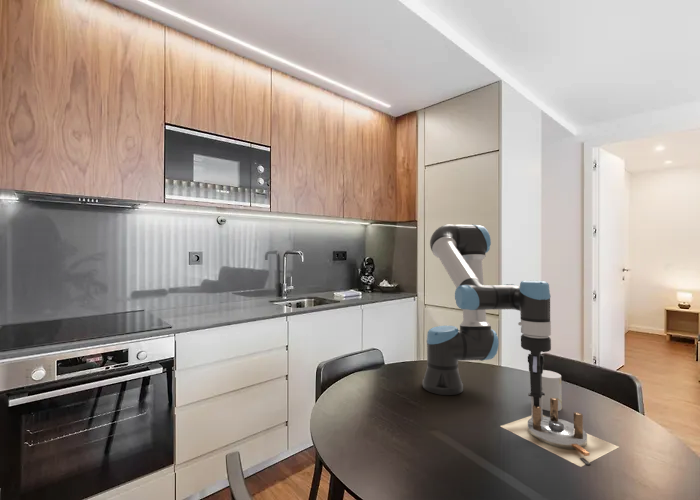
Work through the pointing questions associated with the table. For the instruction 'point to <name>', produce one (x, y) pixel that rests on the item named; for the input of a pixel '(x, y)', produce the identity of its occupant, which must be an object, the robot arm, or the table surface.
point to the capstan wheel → (558, 429)
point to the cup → (551, 389)
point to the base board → (593, 447)
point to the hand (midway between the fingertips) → (537, 419)
